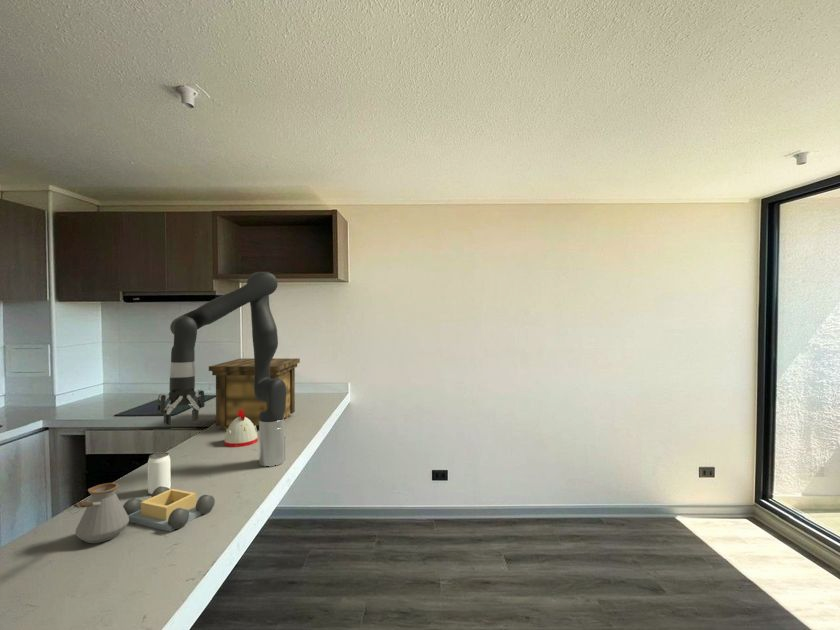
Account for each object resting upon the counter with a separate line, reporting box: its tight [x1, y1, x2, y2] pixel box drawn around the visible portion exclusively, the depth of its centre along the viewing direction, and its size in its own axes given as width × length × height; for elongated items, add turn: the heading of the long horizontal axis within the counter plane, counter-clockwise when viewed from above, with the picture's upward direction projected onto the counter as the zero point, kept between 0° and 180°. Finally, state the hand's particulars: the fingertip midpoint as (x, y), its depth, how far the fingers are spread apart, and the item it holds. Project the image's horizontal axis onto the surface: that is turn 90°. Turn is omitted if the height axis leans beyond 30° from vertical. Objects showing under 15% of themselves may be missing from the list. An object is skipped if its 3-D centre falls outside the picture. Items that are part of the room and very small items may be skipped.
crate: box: [208, 358, 301, 430], centre depth 227 cm, size 35×35×33 cm
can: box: [147, 452, 172, 496], centre depth 140 cm, size 6×6×12 cm
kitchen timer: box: [224, 409, 259, 448], centre depth 193 cm, size 14×14×15 cm
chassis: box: [122, 486, 216, 532], centre depth 124 cm, size 14×20×5 cm
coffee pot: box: [68, 482, 130, 544], centre depth 107 cm, size 21×12×15 cm, turn 16°
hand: (181, 423), depth 143 cm, fingers open, 8 cm apart
